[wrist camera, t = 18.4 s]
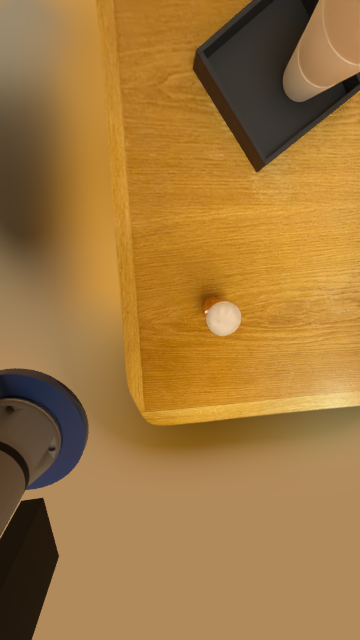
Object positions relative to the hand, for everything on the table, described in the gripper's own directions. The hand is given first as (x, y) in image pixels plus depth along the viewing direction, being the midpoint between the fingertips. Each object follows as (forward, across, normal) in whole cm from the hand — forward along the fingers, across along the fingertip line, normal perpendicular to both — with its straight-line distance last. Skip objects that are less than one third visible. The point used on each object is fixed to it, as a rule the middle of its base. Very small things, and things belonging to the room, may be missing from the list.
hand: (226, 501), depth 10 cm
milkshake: (+34, +6, 0) cm, 35 cm away
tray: (+34, +16, +29) cm, 47 cm away
